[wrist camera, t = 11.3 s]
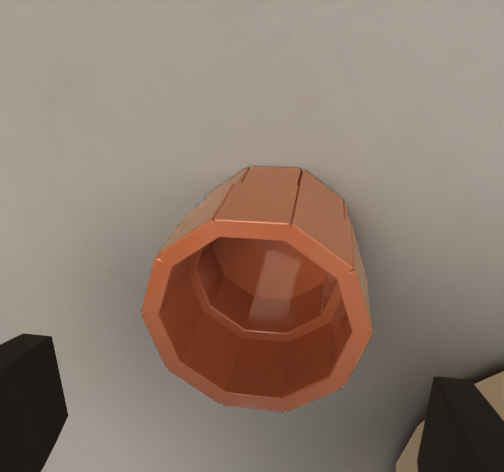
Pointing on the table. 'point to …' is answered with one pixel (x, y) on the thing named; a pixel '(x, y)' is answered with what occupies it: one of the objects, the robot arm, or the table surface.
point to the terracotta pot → (261, 292)
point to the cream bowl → (493, 389)
